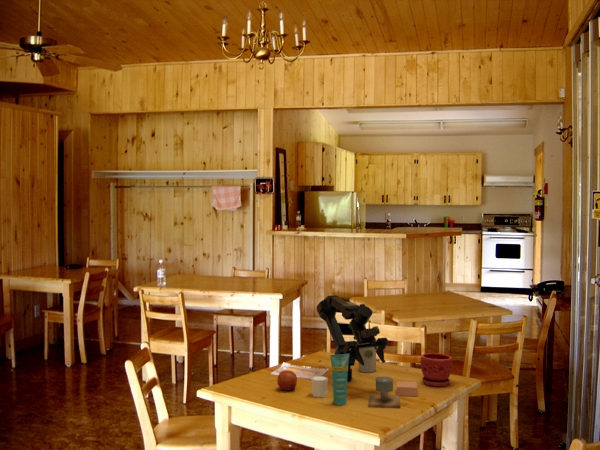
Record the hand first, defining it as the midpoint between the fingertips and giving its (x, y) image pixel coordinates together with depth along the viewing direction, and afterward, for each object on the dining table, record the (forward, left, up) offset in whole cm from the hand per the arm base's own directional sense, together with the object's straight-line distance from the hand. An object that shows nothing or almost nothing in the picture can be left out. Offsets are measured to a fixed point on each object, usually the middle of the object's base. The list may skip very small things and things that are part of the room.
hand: (373, 363), depth 240 cm
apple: (-36, +5, -13) cm, 39 cm away
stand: (+13, +6, -13) cm, 20 cm away
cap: (+4, -7, -8) cm, 12 cm away
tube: (-13, -10, -13) cm, 21 cm away
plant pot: (+26, +21, -13) cm, 36 cm away
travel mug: (-4, +38, -13) cm, 41 cm away
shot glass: (-22, -1, -13) cm, 26 cm away
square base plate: (+4, -7, -13) cm, 15 cm away
